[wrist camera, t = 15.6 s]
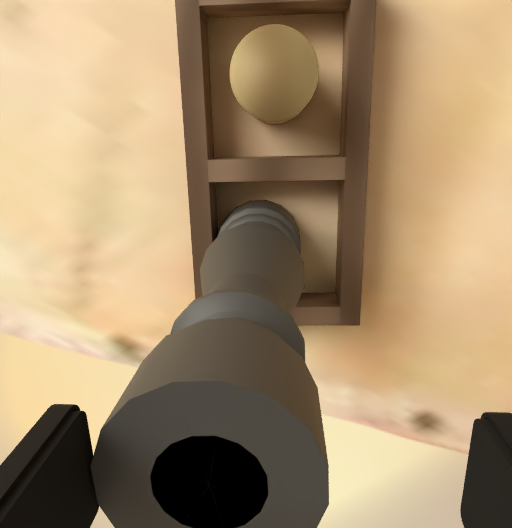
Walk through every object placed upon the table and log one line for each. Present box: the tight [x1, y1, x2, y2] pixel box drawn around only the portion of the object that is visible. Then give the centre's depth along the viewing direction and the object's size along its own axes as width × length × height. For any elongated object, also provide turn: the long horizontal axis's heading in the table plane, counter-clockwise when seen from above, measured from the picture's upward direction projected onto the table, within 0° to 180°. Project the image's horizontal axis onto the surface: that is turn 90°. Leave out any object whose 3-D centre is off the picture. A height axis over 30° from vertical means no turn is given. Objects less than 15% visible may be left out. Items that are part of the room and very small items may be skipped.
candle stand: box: [175, 0, 376, 325], centre depth 28 cm, size 12×23×8 cm, turn 1°
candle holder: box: [90, 200, 329, 528], centre depth 22 cm, size 6×6×25 cm
